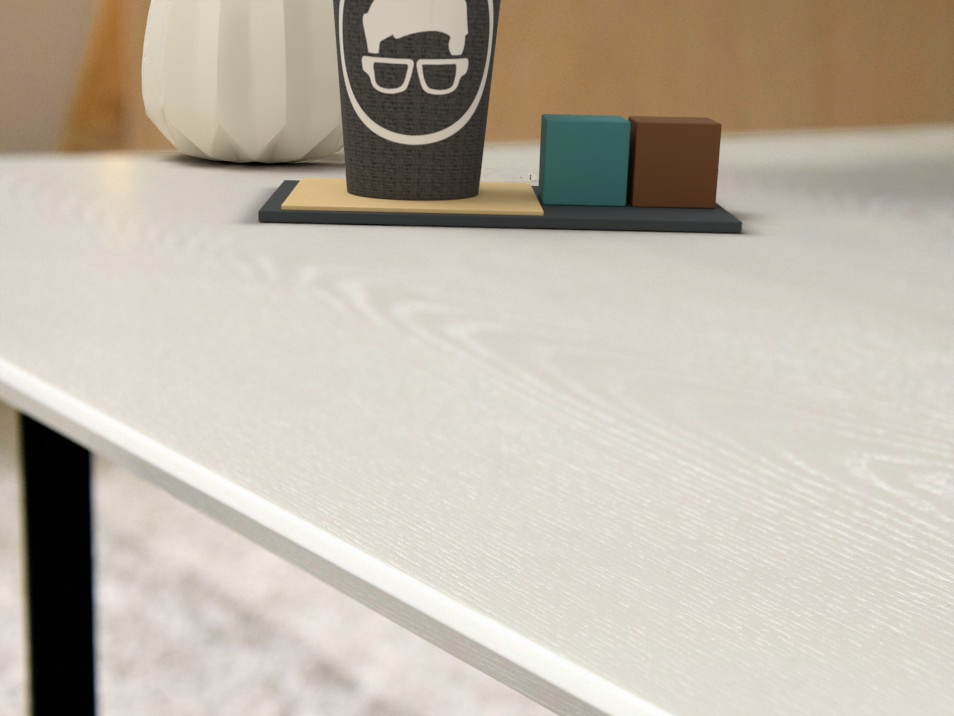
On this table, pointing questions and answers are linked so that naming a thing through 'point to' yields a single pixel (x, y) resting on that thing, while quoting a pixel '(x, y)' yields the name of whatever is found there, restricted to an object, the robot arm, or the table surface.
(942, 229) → the table surface
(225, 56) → the vase
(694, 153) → the word mat
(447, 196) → the coffee cup
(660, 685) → the table surface
